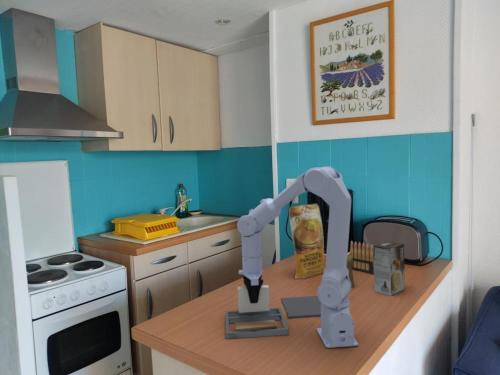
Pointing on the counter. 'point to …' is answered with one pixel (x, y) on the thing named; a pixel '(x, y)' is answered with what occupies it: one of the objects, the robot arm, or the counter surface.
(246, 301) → the gray rectangular block
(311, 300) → the mat
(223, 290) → the counter surface
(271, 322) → the offcut stack
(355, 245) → the ammunition clip
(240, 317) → the rack
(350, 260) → the olive pawn
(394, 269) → the coffee box
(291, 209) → the pancake mix bag
